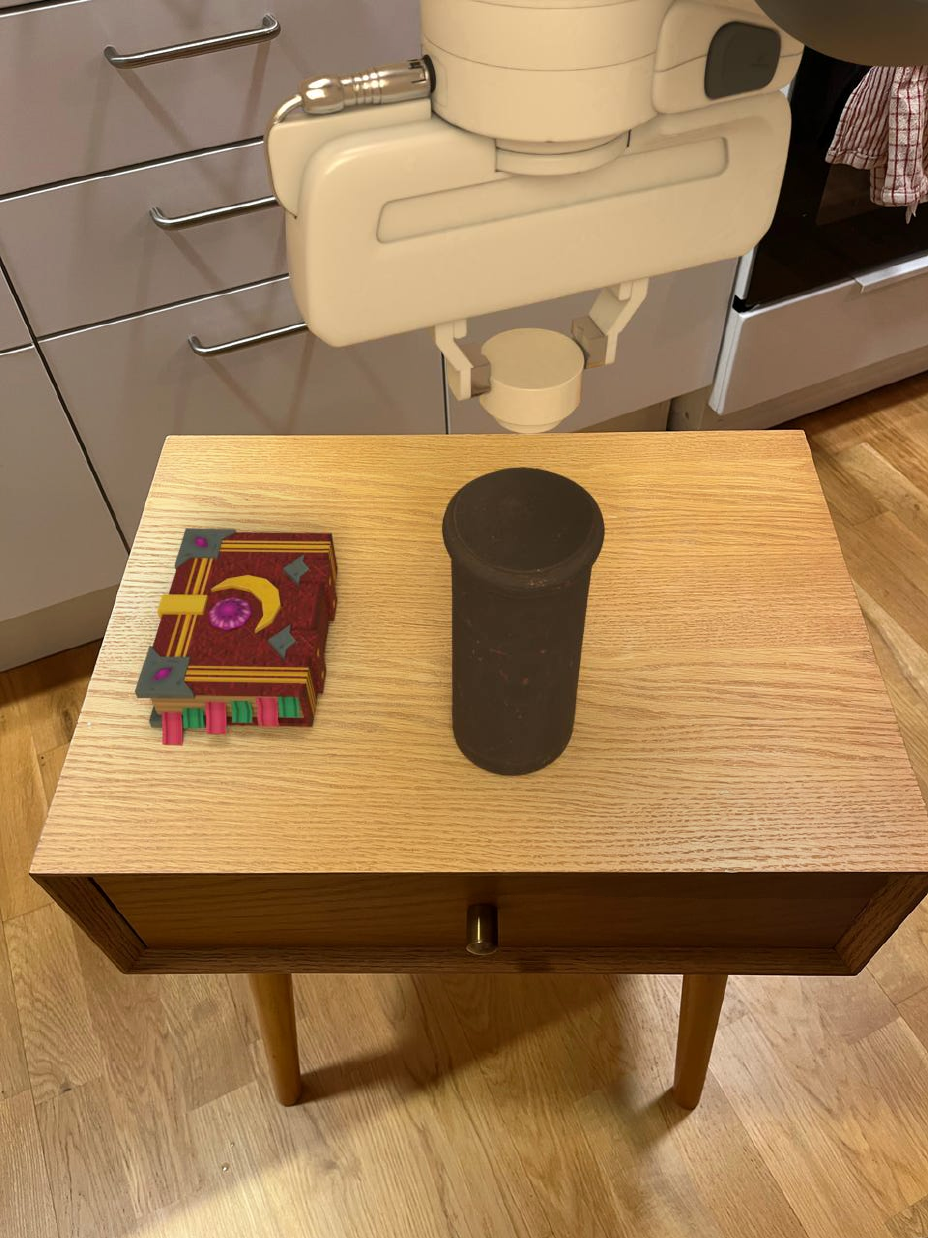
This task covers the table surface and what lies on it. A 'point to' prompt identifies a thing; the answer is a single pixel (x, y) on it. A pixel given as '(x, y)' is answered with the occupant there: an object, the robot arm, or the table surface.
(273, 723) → the decorative book
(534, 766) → the container
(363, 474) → the table surface
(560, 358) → the beige cylinder disc
